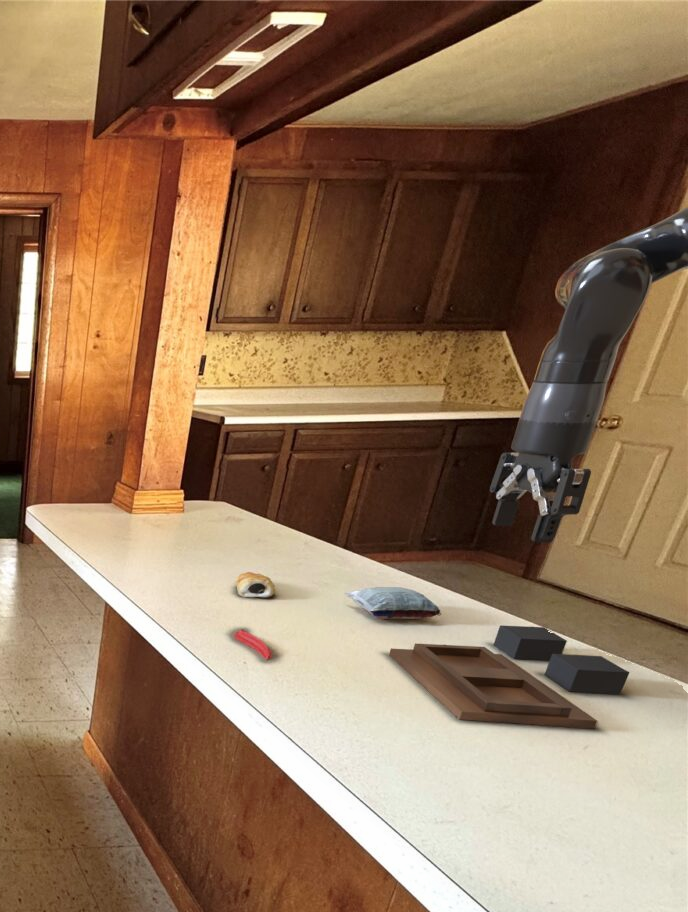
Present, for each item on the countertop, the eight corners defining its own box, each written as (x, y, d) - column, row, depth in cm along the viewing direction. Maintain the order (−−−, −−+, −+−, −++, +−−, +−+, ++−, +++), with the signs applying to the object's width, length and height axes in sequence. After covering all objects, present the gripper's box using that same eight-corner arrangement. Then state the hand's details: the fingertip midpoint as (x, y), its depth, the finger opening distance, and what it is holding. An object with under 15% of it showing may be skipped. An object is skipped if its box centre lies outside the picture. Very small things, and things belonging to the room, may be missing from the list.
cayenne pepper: (230, 630, 115) (231, 620, 115) (259, 632, 114) (261, 622, 113) (243, 661, 105) (245, 650, 104) (275, 664, 104) (277, 653, 103)
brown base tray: (498, 660, 101) (504, 646, 100) (594, 728, 84) (601, 712, 83) (388, 655, 104) (392, 640, 103) (459, 719, 87) (464, 703, 86)
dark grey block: (592, 677, 96) (601, 656, 94) (620, 694, 91) (630, 672, 90) (543, 674, 97) (552, 653, 96) (569, 691, 92) (577, 669, 91)
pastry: (231, 581, 136) (234, 563, 135) (267, 583, 134) (271, 566, 133) (237, 597, 128) (240, 578, 127) (276, 600, 126) (280, 582, 125)
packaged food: (341, 604, 123) (347, 580, 121) (410, 605, 122) (417, 580, 120) (367, 624, 115) (374, 598, 113) (441, 625, 114) (449, 599, 112)
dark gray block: (536, 647, 105) (544, 627, 104) (559, 661, 100) (567, 640, 99) (492, 644, 106) (499, 625, 105) (513, 659, 102) (520, 638, 100)
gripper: (635, 423, 81) (589, 548, 87) (553, 410, 94) (518, 520, 100) (563, 424, 83) (522, 547, 89) (492, 411, 96) (461, 520, 102)
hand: (520, 533), depth 94 cm, fingers open, 8 cm apart
